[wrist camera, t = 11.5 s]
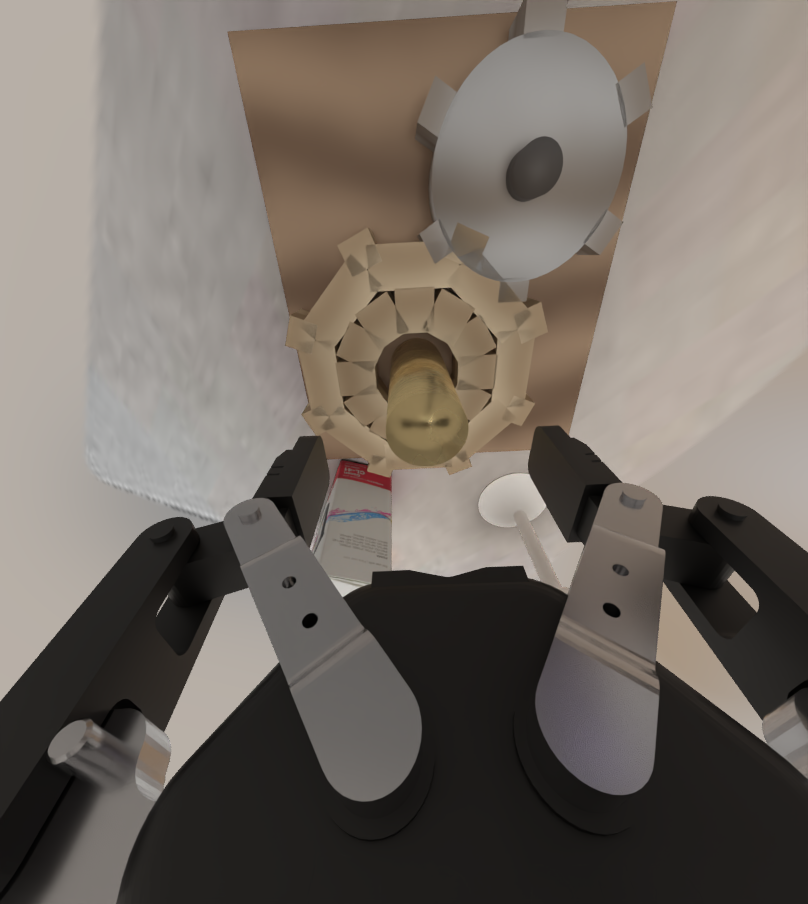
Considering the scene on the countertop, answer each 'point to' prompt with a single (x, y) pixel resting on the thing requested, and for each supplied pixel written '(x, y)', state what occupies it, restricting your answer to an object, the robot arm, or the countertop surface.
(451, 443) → the axle peg
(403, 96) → the gear board
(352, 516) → the ink box
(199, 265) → the countertop surface
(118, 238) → the countertop surface
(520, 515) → the champagne flute
